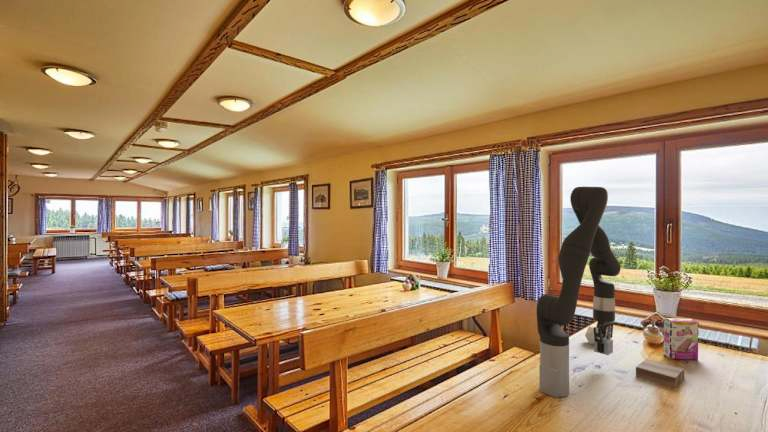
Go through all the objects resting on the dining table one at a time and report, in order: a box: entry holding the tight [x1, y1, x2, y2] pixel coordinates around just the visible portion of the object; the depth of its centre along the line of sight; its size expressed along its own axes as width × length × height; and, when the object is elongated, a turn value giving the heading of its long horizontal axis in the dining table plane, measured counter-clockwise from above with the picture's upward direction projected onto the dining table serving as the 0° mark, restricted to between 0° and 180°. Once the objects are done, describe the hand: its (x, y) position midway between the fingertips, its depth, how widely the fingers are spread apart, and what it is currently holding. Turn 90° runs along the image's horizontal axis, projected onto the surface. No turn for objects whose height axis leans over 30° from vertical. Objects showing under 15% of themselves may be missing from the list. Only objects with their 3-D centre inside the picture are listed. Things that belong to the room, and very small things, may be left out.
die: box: [584, 326, 595, 346], centre depth 173 cm, size 8×9×10 cm
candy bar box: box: [662, 317, 700, 361], centre depth 156 cm, size 11×5×16 cm, turn 84°
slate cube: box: [593, 338, 614, 356], centre depth 145 cm, size 5×5×5 cm
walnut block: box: [635, 358, 685, 389], centre depth 138 cm, size 12×12×4 cm
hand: (603, 350), depth 145 cm, fingers closed on slate cube, 5 cm apart
